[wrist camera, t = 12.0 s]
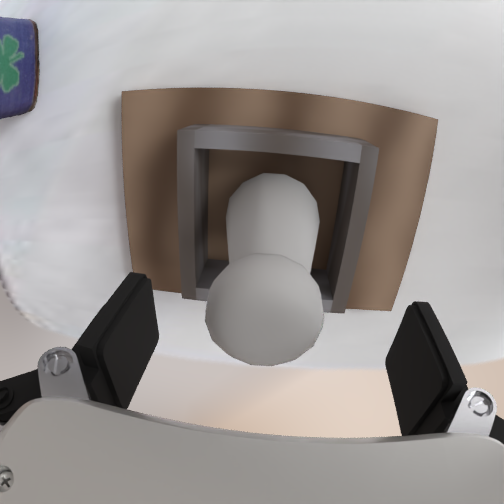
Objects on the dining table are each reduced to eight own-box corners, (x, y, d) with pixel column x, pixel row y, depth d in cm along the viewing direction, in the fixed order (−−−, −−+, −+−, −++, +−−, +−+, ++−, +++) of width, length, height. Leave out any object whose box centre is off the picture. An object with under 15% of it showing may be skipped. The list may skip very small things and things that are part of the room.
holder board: (429, 117, 19) (466, 126, 14) (386, 300, 27) (403, 342, 22) (130, 91, 20) (92, 93, 15) (141, 278, 28) (116, 315, 23)
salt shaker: (215, 197, 22) (144, 313, 11) (281, 148, 20) (280, 220, 9) (266, 258, 24) (248, 404, 12) (331, 216, 22) (375, 348, 10)
